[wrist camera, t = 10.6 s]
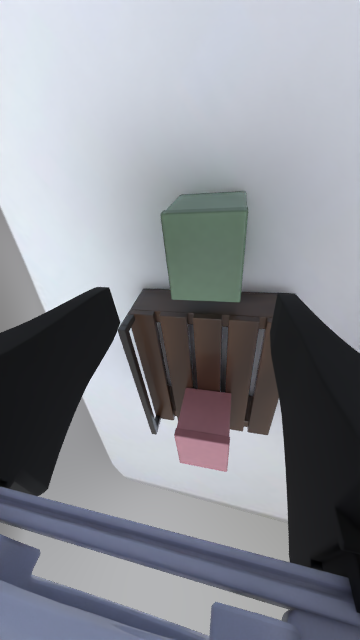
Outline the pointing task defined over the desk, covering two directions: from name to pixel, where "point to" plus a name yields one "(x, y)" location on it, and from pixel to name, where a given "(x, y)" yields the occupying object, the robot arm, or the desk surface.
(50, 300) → the desk surface
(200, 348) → the rack
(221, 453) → the rose box
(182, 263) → the sage box
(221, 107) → the desk surface
